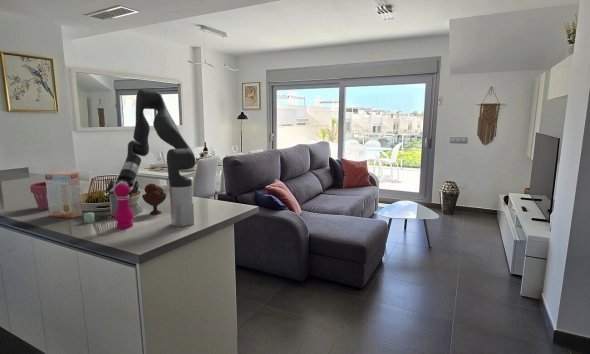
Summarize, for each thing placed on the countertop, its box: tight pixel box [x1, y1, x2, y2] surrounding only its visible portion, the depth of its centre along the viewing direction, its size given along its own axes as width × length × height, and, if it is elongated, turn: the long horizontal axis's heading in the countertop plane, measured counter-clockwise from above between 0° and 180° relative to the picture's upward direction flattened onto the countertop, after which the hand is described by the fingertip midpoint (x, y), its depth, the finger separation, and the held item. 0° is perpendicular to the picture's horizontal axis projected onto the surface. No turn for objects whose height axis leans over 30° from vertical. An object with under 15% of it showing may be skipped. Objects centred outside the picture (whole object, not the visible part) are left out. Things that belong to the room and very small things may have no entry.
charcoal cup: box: [109, 193, 118, 217], centre depth 164 cm, size 6×6×10 cm
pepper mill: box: [114, 181, 135, 230], centre depth 145 cm, size 7×7×20 cm
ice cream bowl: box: [141, 183, 168, 216], centre depth 166 cm, size 11×11×15 cm
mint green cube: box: [83, 212, 96, 224], centre depth 152 cm, size 4×4×4 cm
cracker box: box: [44, 171, 83, 219], centre depth 160 cm, size 14×6×21 cm, turn 74°
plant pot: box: [29, 181, 49, 211], centre depth 176 cm, size 14×14×13 cm
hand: (118, 199), depth 165 cm, fingers open, 8 cm apart
